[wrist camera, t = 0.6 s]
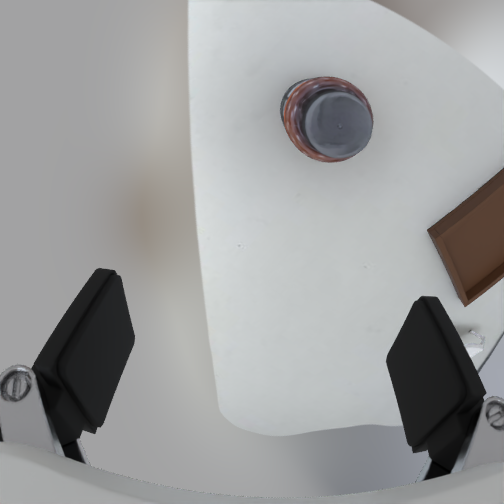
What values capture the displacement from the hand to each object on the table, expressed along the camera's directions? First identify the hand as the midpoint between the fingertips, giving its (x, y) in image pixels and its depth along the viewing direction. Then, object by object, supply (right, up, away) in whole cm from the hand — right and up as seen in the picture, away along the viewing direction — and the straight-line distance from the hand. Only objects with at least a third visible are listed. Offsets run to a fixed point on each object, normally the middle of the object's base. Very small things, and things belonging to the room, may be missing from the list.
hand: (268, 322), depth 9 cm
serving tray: (+30, +5, +21) cm, 37 cm away
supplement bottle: (+5, +15, +16) cm, 23 cm away
